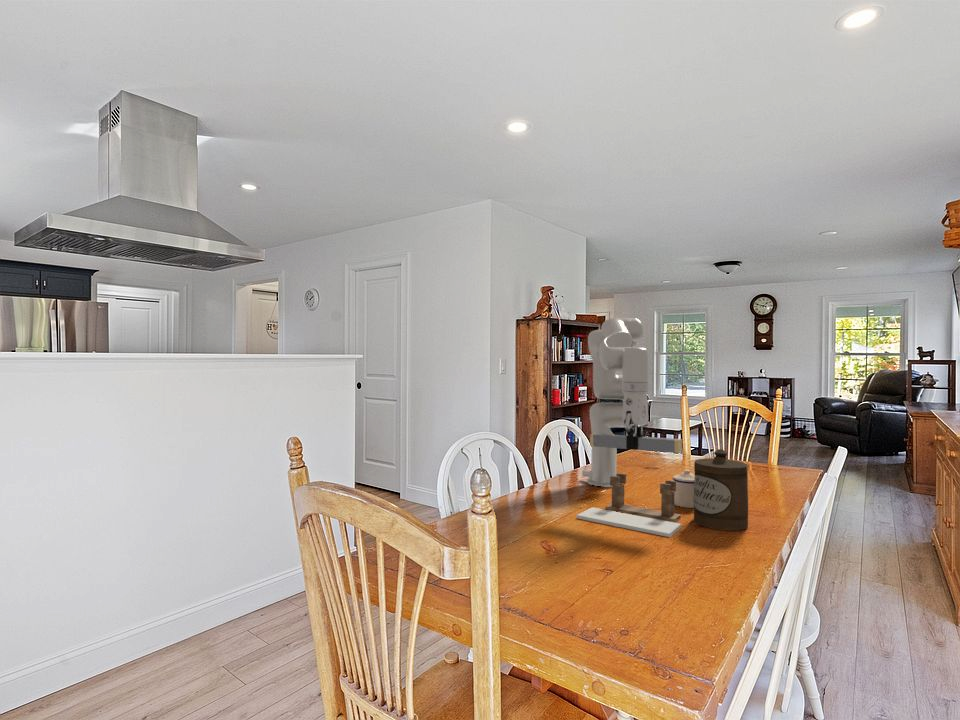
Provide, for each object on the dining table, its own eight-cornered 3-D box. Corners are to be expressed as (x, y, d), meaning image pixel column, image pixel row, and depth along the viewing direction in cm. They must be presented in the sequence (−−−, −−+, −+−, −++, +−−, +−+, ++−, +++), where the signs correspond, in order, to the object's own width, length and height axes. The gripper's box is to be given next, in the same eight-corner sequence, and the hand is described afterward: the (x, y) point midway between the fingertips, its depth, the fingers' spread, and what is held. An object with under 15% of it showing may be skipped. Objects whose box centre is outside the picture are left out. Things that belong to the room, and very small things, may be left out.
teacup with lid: (699, 510, 175) (699, 474, 175) (670, 506, 179) (670, 471, 179) (703, 501, 185) (704, 467, 185) (676, 498, 190) (676, 464, 190)
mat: (576, 518, 164) (576, 515, 164) (592, 510, 173) (592, 507, 173) (669, 537, 148) (669, 533, 148) (681, 527, 157) (681, 523, 157)
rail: (590, 446, 170) (589, 434, 170) (594, 444, 173) (594, 433, 173) (678, 453, 154) (678, 440, 155) (682, 451, 157) (681, 439, 157)
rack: (605, 509, 174) (605, 475, 174) (612, 505, 179) (613, 472, 179) (674, 522, 161) (675, 485, 161) (680, 517, 166) (681, 482, 166)
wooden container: (682, 519, 165) (683, 447, 165) (717, 513, 171) (718, 444, 171) (723, 533, 151) (724, 455, 151) (759, 527, 158) (760, 452, 157)
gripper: (637, 389, 155) (637, 453, 155) (656, 387, 168) (655, 446, 168) (612, 388, 159) (612, 450, 159) (632, 386, 173) (631, 444, 173)
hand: (634, 447), depth 164 cm, fingers closed on rail, 3 cm apart
